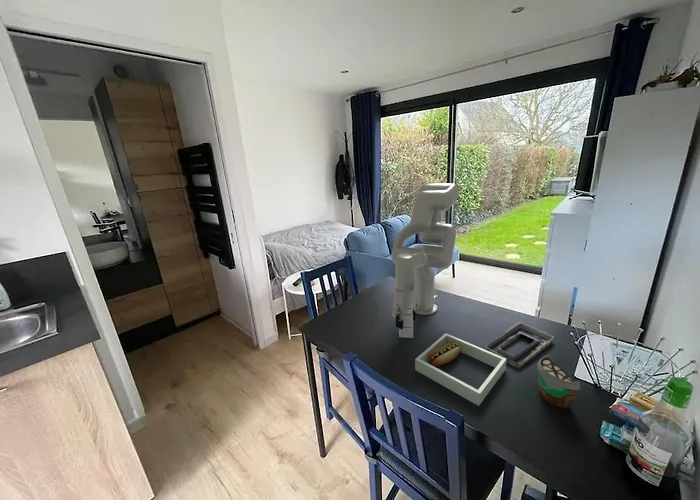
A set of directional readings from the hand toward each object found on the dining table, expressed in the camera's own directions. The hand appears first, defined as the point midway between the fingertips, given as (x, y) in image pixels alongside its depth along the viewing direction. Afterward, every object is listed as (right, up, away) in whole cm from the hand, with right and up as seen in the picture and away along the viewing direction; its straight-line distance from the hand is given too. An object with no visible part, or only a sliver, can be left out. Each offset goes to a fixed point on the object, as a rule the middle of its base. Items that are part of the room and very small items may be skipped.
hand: (405, 323), depth 118 cm
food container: (+36, -14, -33) cm, 50 cm away
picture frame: (+40, -7, -10) cm, 42 cm away
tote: (+14, -11, -20) cm, 27 cm away
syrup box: (0, -5, +2) cm, 5 cm away
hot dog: (+11, -10, -15) cm, 21 cm away
